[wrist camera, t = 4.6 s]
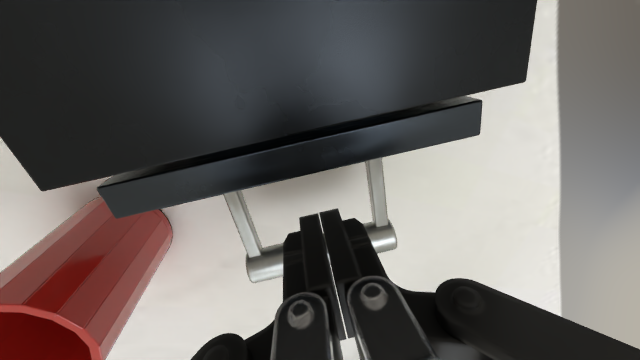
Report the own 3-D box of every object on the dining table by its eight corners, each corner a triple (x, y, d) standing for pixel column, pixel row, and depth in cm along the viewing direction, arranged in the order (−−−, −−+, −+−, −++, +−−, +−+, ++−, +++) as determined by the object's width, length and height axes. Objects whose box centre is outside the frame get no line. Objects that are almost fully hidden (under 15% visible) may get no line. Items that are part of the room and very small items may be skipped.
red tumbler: (108, 271, 19) (0, 408, 12) (59, 205, 16) (-115, 327, 9) (185, 252, 19) (127, 376, 12) (149, 184, 16) (47, 289, 9)
